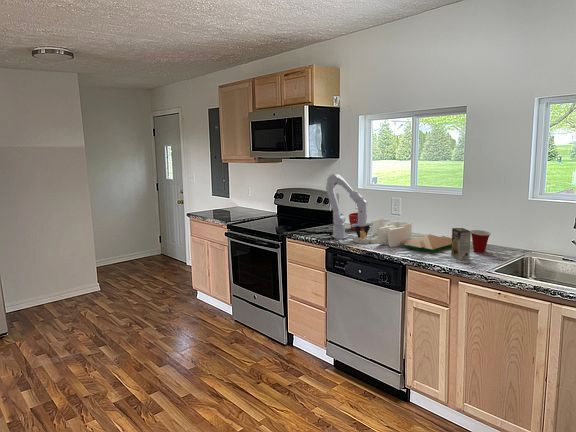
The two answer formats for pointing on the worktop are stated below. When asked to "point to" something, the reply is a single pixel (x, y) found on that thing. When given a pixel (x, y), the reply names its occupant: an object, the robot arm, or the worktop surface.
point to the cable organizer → (391, 236)
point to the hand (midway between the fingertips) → (362, 236)
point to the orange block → (362, 234)
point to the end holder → (372, 240)
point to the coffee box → (460, 243)
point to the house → (429, 242)
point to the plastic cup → (479, 240)
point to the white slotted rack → (384, 223)
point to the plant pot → (352, 221)
